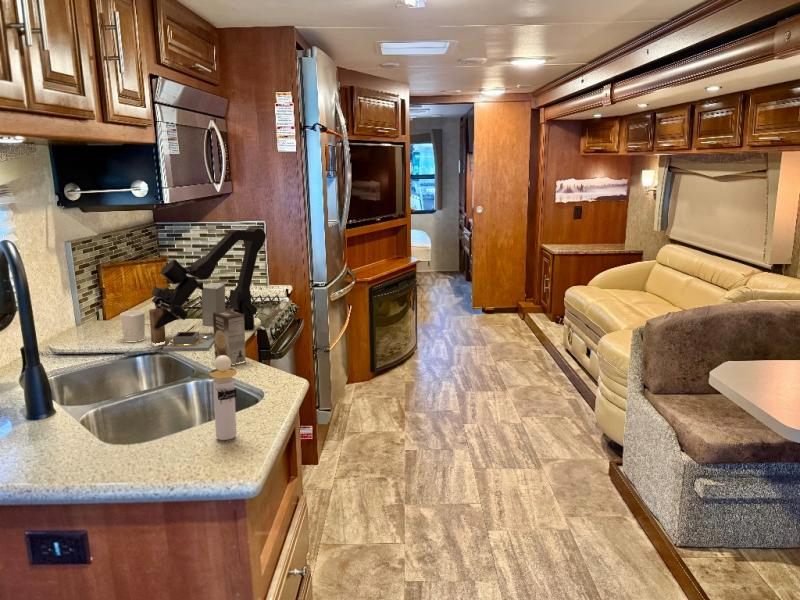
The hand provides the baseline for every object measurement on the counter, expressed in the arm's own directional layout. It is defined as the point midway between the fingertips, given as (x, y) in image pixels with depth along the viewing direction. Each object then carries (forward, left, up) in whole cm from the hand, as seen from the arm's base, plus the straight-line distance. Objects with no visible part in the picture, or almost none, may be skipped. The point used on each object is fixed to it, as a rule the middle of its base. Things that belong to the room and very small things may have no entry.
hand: (153, 327), depth 205 cm
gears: (-13, -1, -6) cm, 14 cm away
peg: (-1, -1, -7) cm, 7 cm away
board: (-12, -2, -7) cm, 14 cm away
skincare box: (-15, -29, -7) cm, 33 cm away
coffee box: (-29, +19, -7) cm, 35 cm away
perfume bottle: (-37, +76, -7) cm, 85 cm away
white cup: (+9, -7, -7) cm, 13 cm away
